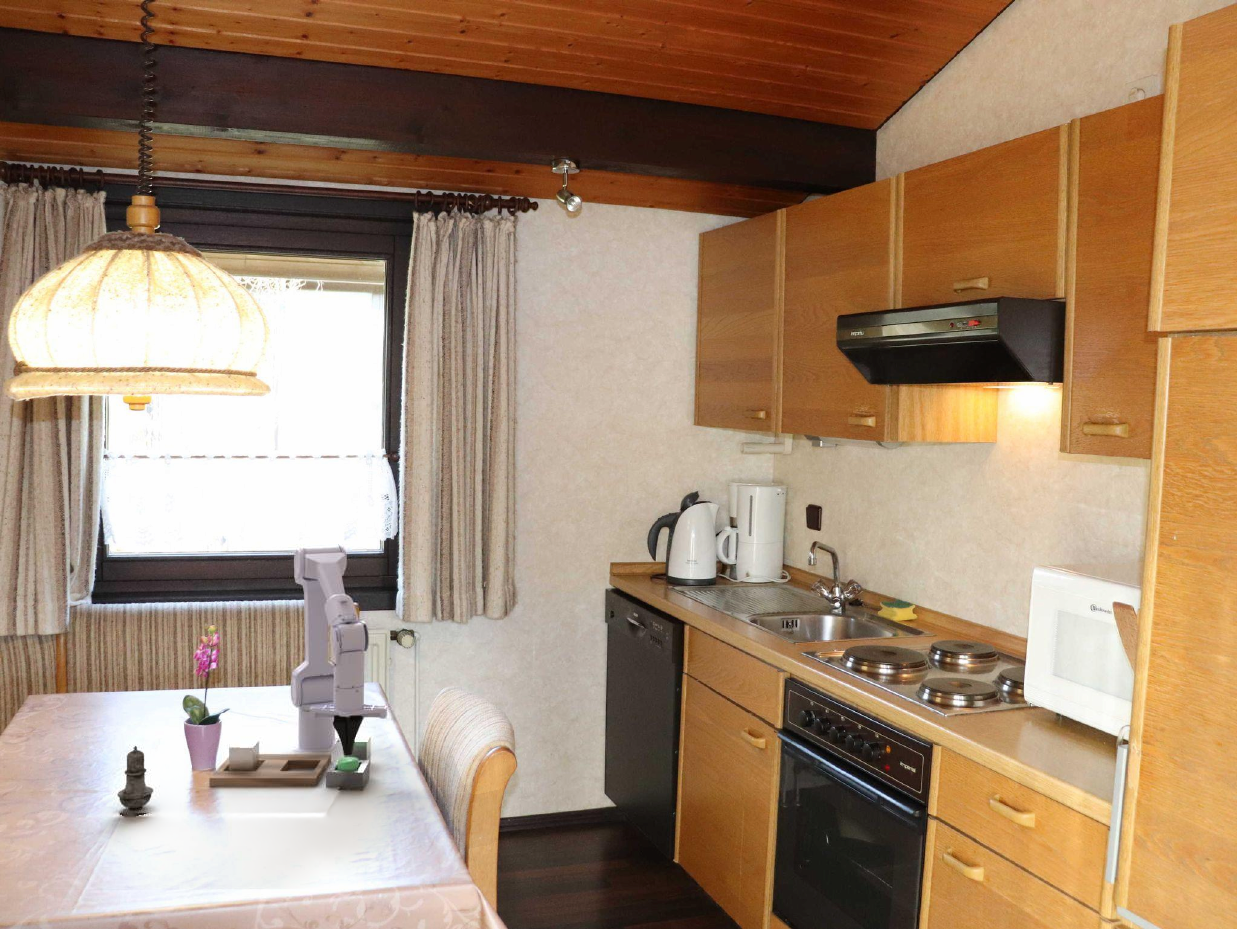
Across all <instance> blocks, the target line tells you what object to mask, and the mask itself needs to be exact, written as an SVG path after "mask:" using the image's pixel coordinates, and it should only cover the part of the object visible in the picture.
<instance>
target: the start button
mask: <svg viewBox="0 0 1237 929" xmlns="http://www.w3.org/2000/svg"><path fill="white" fill-rule="evenodd" d="M337 760H338V770H358V769H359V759H357V758H354V757H346V758H344V757H342V758H340V759H337Z"/></svg>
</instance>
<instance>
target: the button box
mask: <svg viewBox="0 0 1237 929" xmlns="http://www.w3.org/2000/svg"><path fill="white" fill-rule="evenodd" d="M338 760H339V759H333V761H331V763H330V765H329V766H328V768H327V770H326V771H325V788H337V791H364V789H365V787H366V785H367V783H368V781H369V779H370V765H369V760H359V769H358V770H338Z"/></svg>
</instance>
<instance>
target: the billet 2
mask: <svg viewBox="0 0 1237 929" xmlns="http://www.w3.org/2000/svg"><path fill="white" fill-rule="evenodd" d="M371 742H372V736H371V734H357V735H356V739H355V742H354V747H353V753H352V755H344V754H343V758H346V757H354V758H357V759H359V760H369V766H370V765H371V756H372V754H371V750H372V749H371V747H372V746H371V744H372V743H371Z"/></svg>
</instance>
